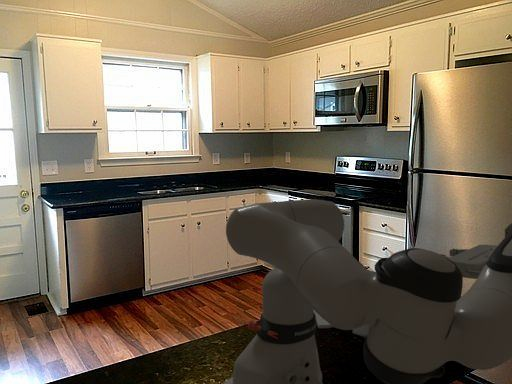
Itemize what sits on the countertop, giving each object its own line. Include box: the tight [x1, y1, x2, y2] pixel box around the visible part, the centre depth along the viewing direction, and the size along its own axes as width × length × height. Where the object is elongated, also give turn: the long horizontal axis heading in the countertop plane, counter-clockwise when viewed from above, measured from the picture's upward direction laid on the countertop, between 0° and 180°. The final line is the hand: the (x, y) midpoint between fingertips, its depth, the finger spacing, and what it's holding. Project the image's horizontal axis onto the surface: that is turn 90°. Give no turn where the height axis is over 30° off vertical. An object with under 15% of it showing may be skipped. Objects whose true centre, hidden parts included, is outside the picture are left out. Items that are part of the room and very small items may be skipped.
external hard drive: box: [314, 310, 337, 329], centre depth 126 cm, size 2×8×12 cm
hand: (444, 254), depth 111 cm, fingers open, 6 cm apart
